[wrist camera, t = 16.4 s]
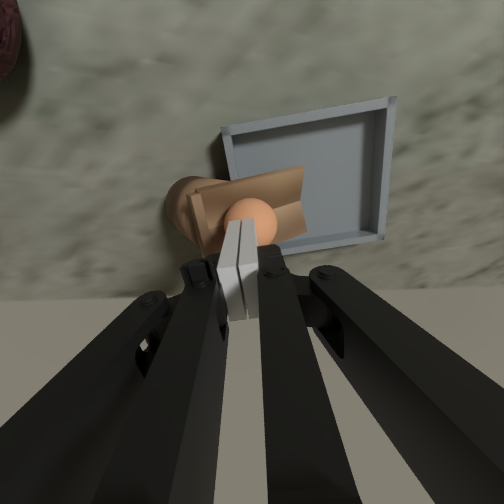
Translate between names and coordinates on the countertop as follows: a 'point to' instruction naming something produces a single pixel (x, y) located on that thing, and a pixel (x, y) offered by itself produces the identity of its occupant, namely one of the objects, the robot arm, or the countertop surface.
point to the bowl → (9, 36)
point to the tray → (325, 167)
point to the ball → (255, 218)
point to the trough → (225, 195)
